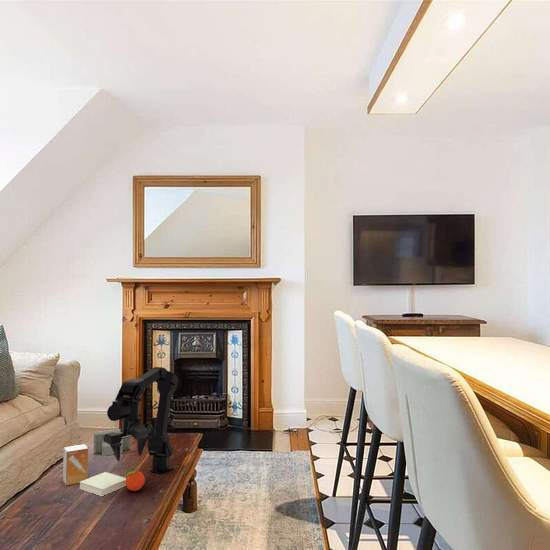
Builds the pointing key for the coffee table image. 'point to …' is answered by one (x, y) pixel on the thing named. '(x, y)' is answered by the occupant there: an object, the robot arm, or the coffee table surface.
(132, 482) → the clementine
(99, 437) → the digital clock
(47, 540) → the coffee table surface
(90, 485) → the book
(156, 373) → the robot arm
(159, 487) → the coffee table surface
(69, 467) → the small box
